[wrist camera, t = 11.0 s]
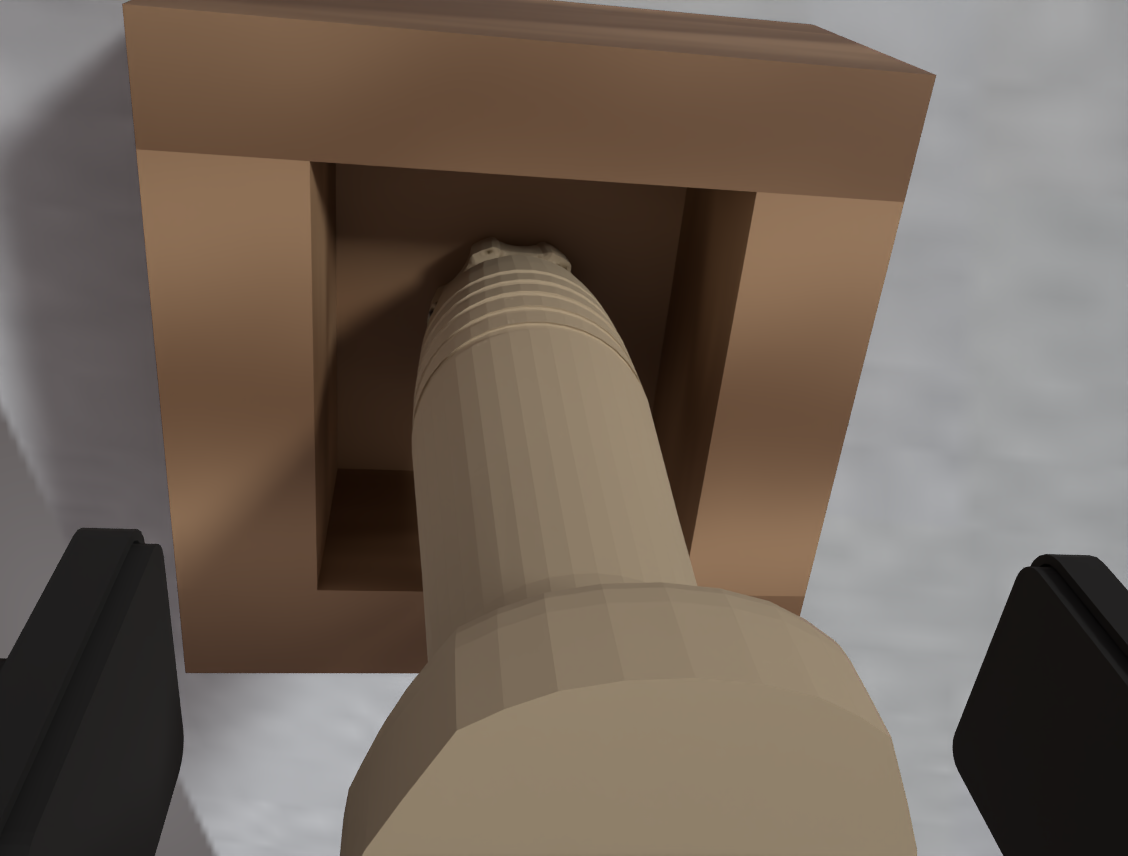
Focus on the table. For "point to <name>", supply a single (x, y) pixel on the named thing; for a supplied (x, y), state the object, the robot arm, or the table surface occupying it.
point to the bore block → (441, 249)
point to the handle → (594, 624)
